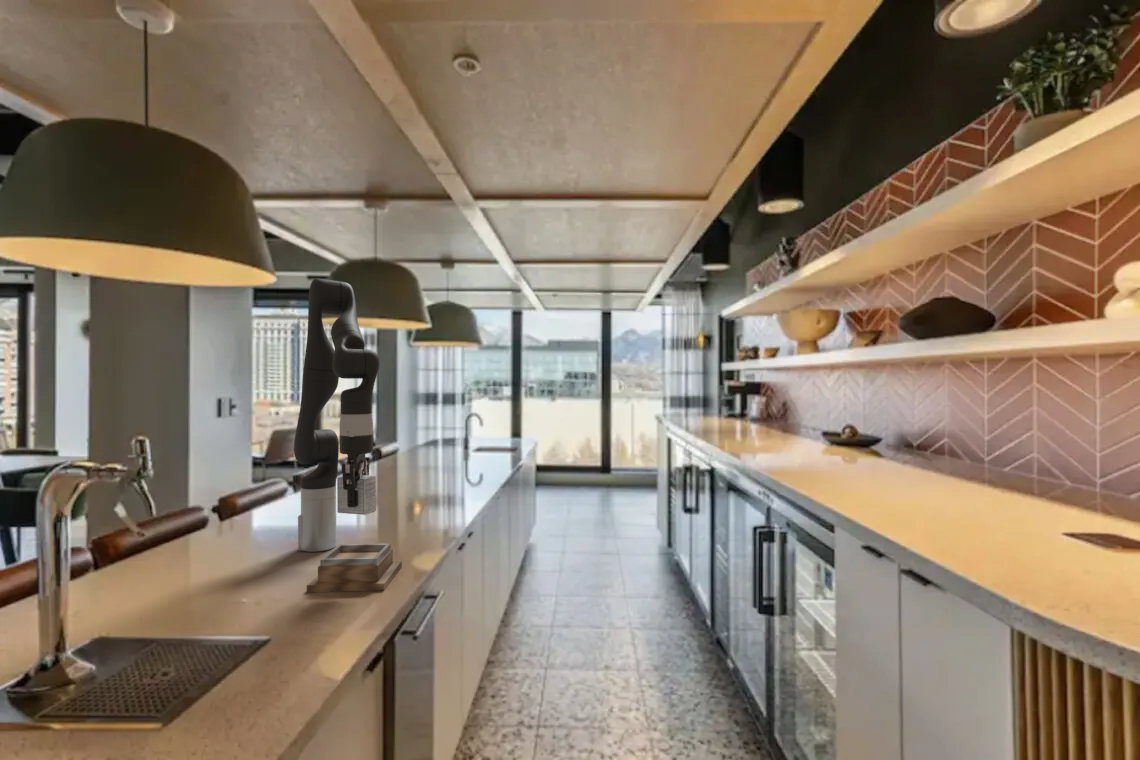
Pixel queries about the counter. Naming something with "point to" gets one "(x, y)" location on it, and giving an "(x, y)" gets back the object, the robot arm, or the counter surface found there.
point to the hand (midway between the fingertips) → (356, 503)
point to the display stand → (356, 568)
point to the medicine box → (364, 496)
